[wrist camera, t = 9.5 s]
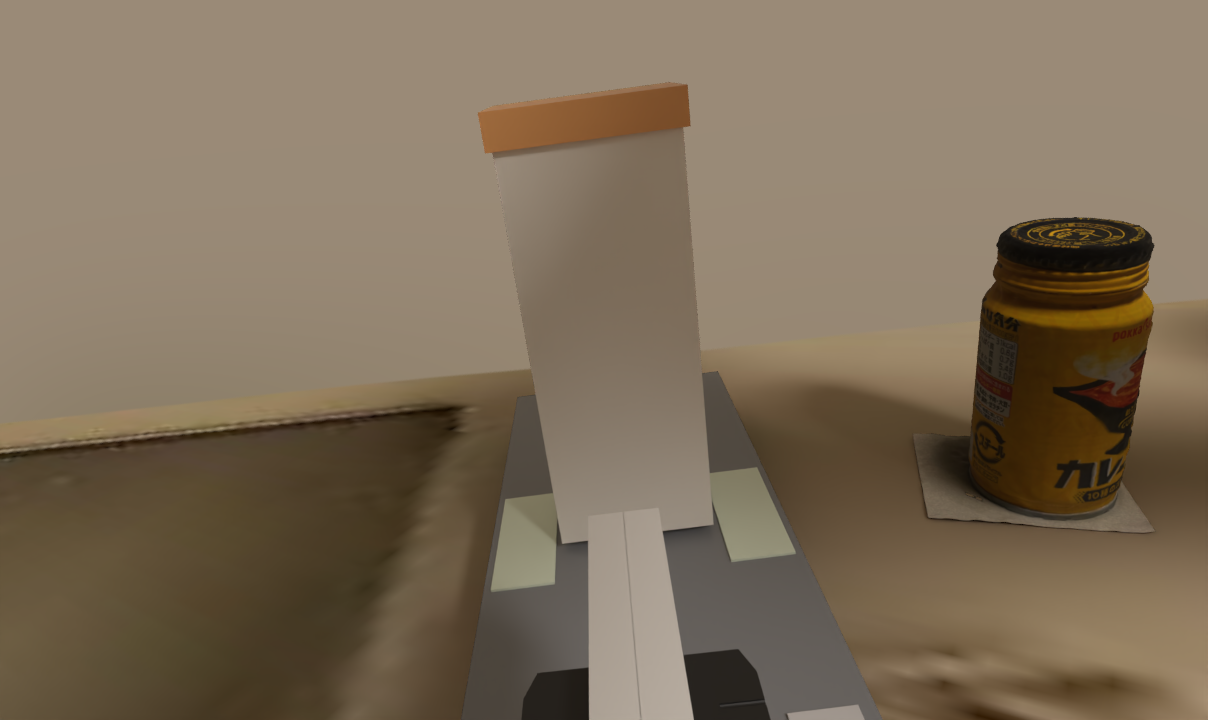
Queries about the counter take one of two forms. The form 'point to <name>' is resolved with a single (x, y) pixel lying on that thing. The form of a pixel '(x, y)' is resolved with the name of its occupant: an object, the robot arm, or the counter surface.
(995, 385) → the condiment
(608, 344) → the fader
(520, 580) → the console
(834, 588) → the counter surface
